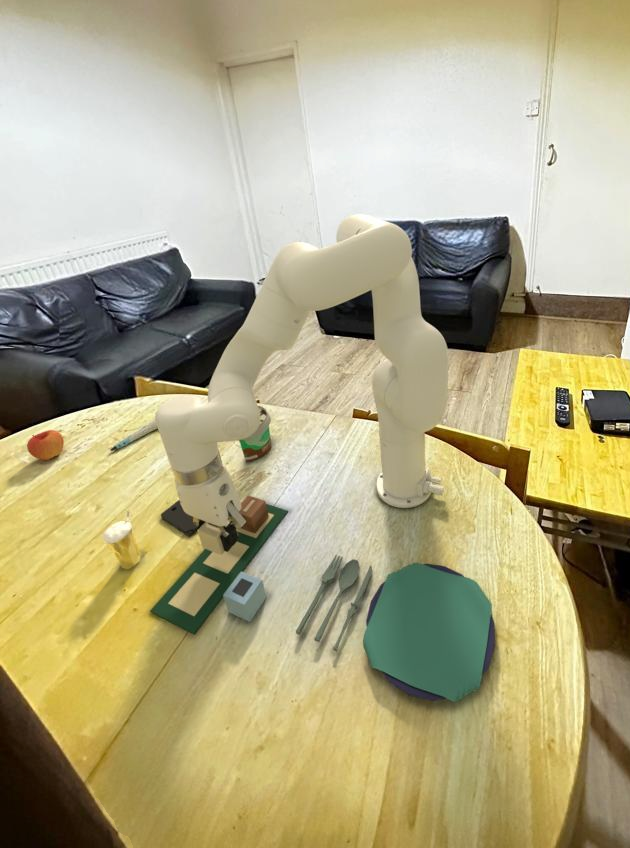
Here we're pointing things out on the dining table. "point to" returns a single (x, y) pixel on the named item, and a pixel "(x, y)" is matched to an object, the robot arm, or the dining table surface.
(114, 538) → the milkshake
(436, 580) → the cutlery set
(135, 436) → the pen
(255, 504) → the letter block
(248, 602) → the light blue block
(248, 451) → the food container
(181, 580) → the word mat
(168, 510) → the black smartphone
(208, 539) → the letter block
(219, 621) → the dining table surface
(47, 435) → the apple
